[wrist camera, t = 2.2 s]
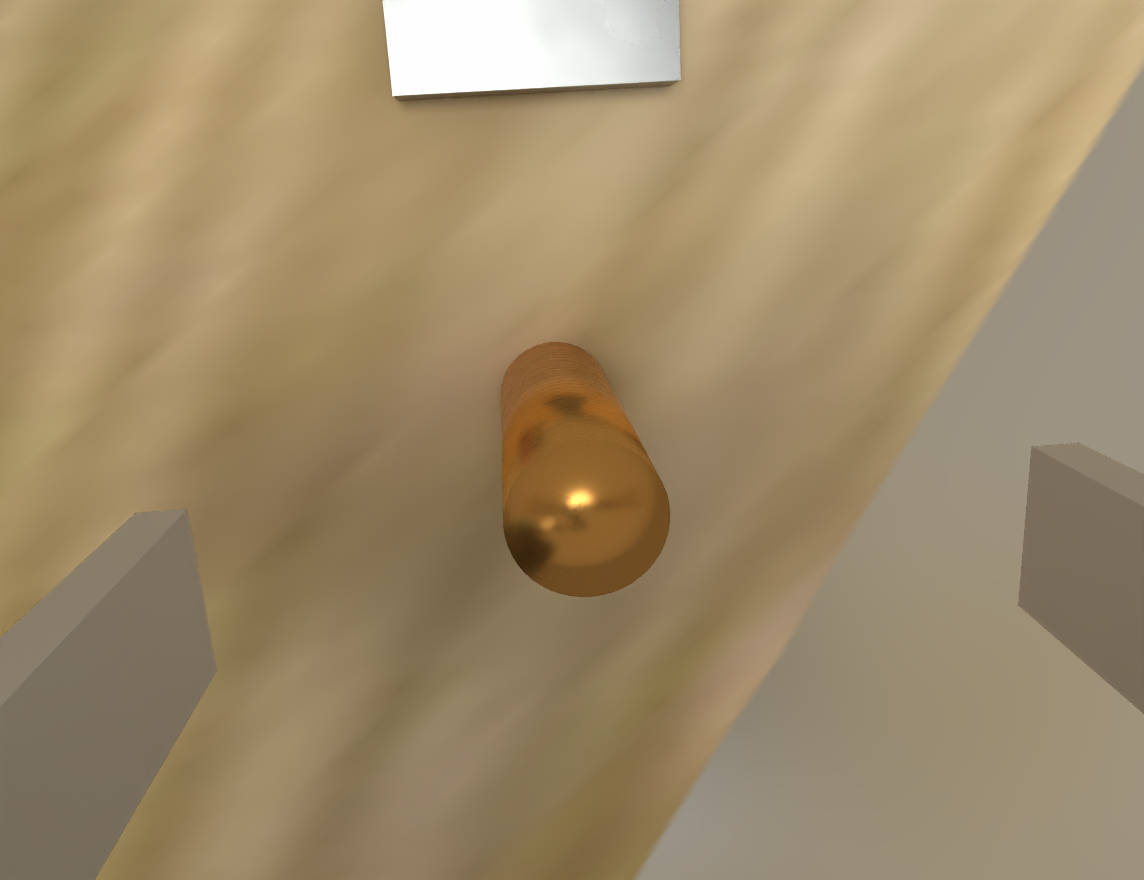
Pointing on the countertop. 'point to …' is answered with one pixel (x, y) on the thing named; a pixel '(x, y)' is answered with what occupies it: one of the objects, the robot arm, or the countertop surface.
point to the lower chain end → (529, 46)
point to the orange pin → (576, 477)
